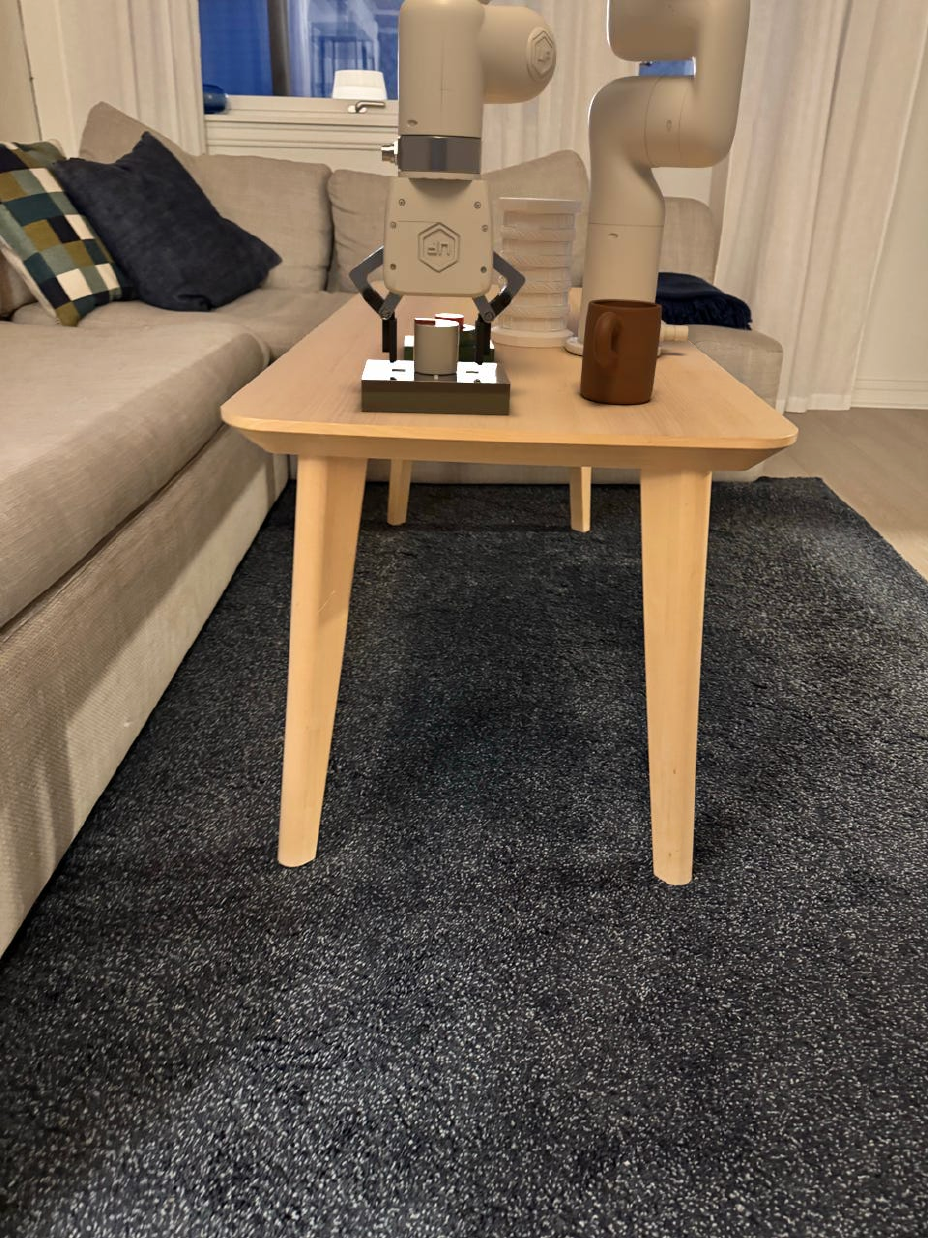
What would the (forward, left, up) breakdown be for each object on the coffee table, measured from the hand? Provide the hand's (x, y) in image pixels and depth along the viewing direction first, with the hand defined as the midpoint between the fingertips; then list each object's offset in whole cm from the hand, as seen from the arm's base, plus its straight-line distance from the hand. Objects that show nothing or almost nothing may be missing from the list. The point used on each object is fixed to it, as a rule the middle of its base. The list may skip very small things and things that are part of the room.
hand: (435, 360), depth 89 cm
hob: (0, 0, -4) cm, 4 cm away
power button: (-2, -26, -1) cm, 26 cm away
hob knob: (0, 0, -1) cm, 1 cm away
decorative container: (-14, -40, -4) cm, 43 cm away
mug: (-18, -2, -4) cm, 19 cm away
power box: (-2, -26, -4) cm, 26 cm away
